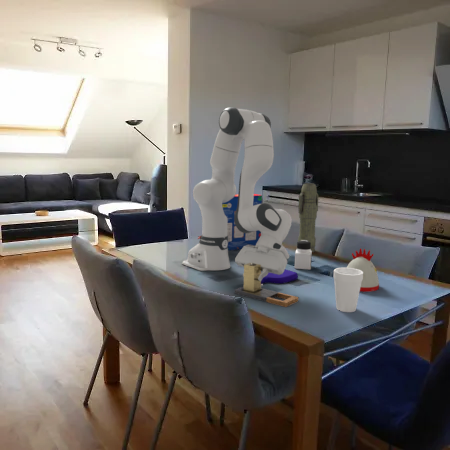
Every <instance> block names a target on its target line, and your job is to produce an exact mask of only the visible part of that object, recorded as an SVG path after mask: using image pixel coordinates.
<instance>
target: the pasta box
mask: <svg viewBox="0 0 450 450" xmlns="http://www.w3.org/2000/svg"><path fill="white" fill-rule="evenodd" d="M262 203H263V195H262V194H257V193H254V198H253V206H254V205H258V204H262ZM237 204H238V194H237V193H236V194H235V196H234V197H233V198H232V199H231V200H229V201H228V202H225V203H222V207H223V211H224V214H225V215H226V217H227V219H228V224H227V235H228V252H229V251H237V250H239V251H240V250H241V249H242V248H243V247H244V246H246V245H256V243H257V242H258V240H259V238H260V236H261V232H260V231H259V230H258V231H253V232H250V233H242V232H241V231H239V230H238V228H237V227H236V225H235V222H234V216H235V212H236V209H237Z"/></svg>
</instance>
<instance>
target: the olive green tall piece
mask: <svg viewBox="0 0 450 450" xmlns="http://www.w3.org/2000/svg"><path fill="white" fill-rule="evenodd" d="M300 190H301V192H300V194H299V196H298V217H299V229H298V230H299V235H298V237H297V242H298V241H301V240H305V241H309V242H311V250H310V251H312V252H313V253H315V252H316V250H315V249H316V242H317V241H316V239H317V238H316V235H315V234H316V220H317V215H318V211H319V194H318V190H317V186H316V184H315V183H313V182H312V183H311V182H310V183H309V182H306V183H303V184H302V187H301V189H300Z"/></svg>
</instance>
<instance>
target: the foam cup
mask: <svg viewBox="0 0 450 450" xmlns="http://www.w3.org/2000/svg"><path fill="white" fill-rule="evenodd" d="M333 280H334V281H333V283H334V293H335V306H336V309H337V310H338V311H339V310H340V312H343V313H353V312H356V310H357V306H358V301H359V296H360V292H361V291H360V287H361V282H362V280H363V272H362V271H361V270H358V269H354V268H346V267H337V268H335V269H334V270H333Z"/></svg>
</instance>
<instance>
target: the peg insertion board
mask: <svg viewBox="0 0 450 450" xmlns="http://www.w3.org/2000/svg"><path fill="white" fill-rule="evenodd" d="M234 295H239V296H243V297H246V298H251V299H254V300H258V301H262V302H265V303H269V304H272V305H277V306H281V307H284V308H287V307H289V306H291V305H294V304H296V303H297V302H299V297H298V296H294V295H291V294H286V293H282V292H279V291H275V290H270V289H266V288H262V287H261V291H259V292H257V293H250V292H246V291H244V285H243V286H239V287H238V288H235V289H234ZM277 298H280V299H277ZM281 299H283V300H281Z"/></svg>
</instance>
